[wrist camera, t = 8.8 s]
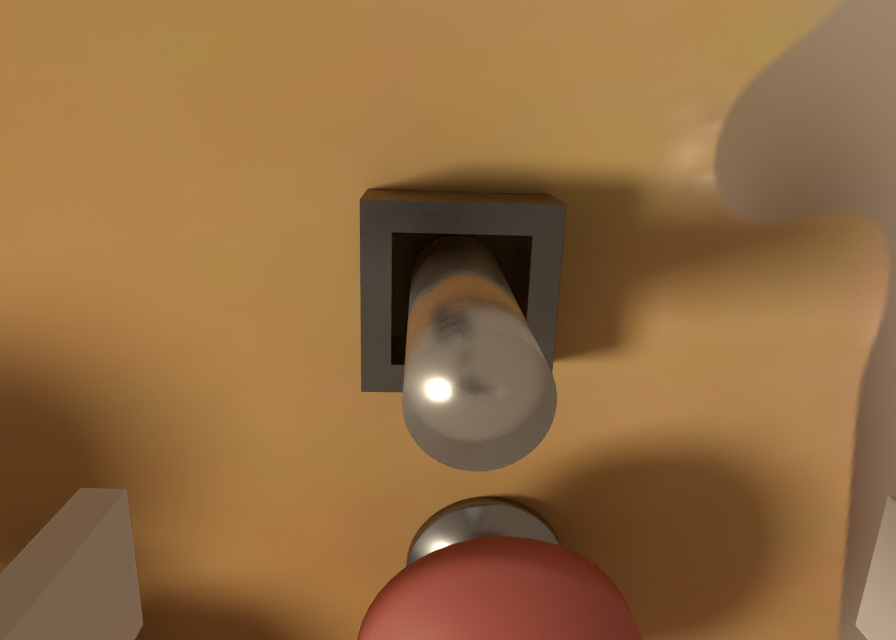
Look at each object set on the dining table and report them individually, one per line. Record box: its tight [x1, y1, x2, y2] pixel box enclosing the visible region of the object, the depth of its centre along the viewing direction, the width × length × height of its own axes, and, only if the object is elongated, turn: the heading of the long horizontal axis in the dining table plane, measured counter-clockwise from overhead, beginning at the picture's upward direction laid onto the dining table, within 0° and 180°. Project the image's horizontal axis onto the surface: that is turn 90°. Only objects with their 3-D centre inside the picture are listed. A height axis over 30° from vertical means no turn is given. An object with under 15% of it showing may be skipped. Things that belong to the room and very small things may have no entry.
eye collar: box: [360, 189, 566, 392], centre depth 28 cm, size 8×8×4 cm
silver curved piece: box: [406, 497, 560, 567], centre depth 31 cm, size 8×8×6 cm
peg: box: [402, 236, 557, 471], centre depth 23 cm, size 4×4×13 cm
